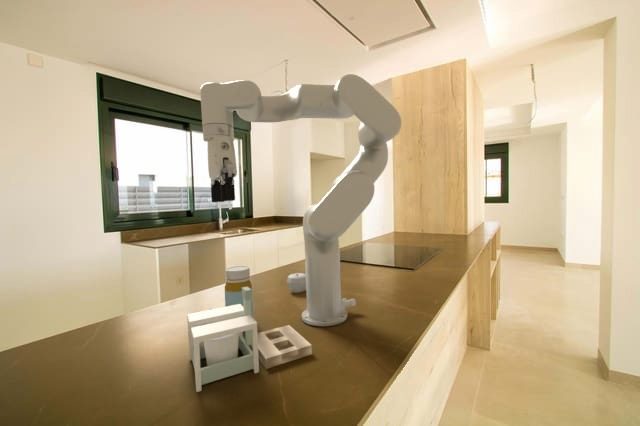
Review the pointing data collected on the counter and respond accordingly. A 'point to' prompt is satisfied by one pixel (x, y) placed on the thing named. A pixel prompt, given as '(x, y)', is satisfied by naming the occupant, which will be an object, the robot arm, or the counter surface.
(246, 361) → the slider
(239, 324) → the tunnel
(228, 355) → the white cup
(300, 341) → the board
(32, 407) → the counter surface
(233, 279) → the bottle
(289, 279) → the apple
